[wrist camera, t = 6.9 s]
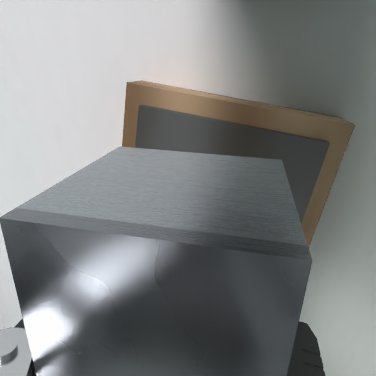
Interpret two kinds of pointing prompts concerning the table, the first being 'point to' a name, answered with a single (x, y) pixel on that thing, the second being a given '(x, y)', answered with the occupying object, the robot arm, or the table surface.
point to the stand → (242, 136)
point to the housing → (161, 267)
